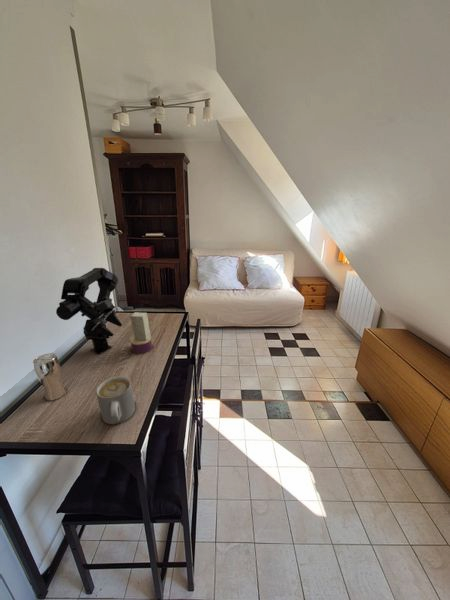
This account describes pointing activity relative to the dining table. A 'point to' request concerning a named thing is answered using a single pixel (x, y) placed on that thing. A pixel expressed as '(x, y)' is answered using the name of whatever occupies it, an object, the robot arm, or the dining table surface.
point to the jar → (141, 345)
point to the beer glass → (49, 375)
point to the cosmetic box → (140, 326)
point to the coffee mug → (116, 400)
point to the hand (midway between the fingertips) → (117, 330)
